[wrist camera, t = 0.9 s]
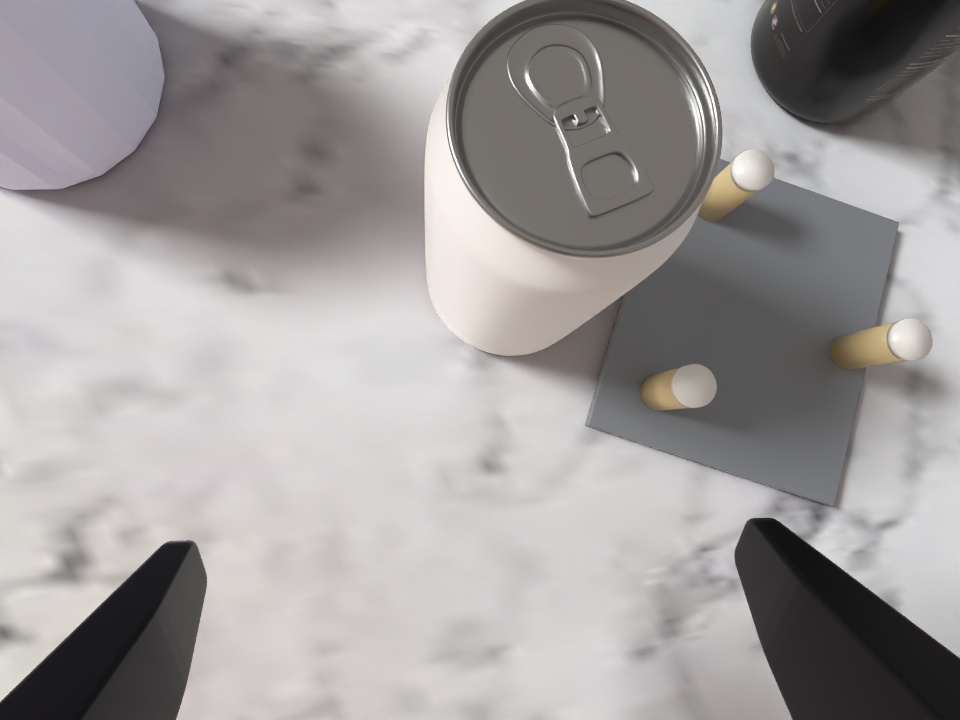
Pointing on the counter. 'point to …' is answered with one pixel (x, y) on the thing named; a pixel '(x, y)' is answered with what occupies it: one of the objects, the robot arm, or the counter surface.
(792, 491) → the peg board
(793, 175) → the counter surface
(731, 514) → the counter surface
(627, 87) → the can
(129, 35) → the soap bottle
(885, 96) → the supplement bottle
